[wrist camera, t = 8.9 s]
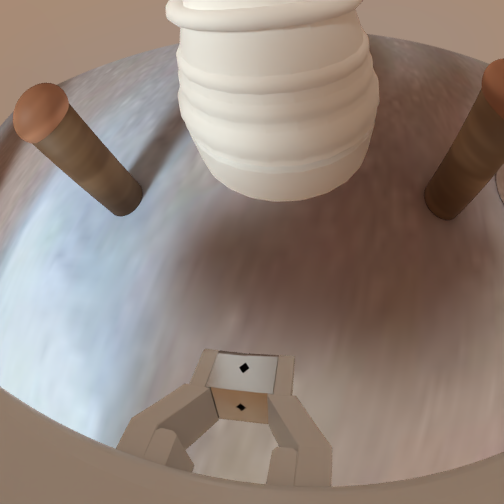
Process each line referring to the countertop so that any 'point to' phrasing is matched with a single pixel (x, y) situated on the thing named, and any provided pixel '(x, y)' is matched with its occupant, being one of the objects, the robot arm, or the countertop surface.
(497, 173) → the beer glass
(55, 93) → the post
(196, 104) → the honey pot
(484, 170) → the post
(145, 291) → the countertop surface
